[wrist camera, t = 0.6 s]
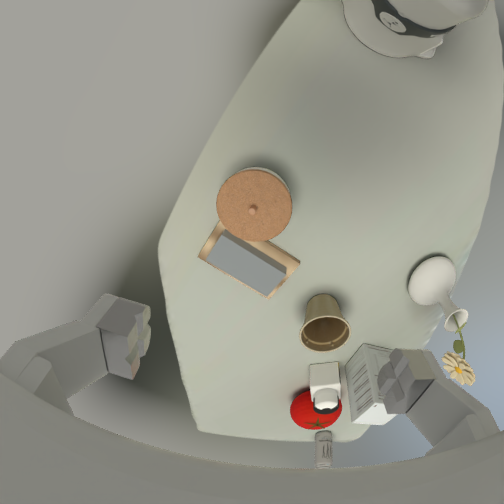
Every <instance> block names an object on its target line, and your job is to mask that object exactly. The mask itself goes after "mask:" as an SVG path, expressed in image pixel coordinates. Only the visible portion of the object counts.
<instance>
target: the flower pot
mask: <svg viewBox="0 0 504 504" xmlns="http://www.w3.org/2000/svg"><path fill="white" fill-rule="evenodd" d="M350 336H351V328H350V325H349V323H348V322H347V321H346V320H345V319H344V318H343V316H342V314H341V311H340V309H339V306H338V304H337V301H336V300H335V299H334V298H333V297H331V296H330V295H327V294H320V295H316V296H314V297H313V298H312V299H311V300H310V301H309V302H308V304H307V310H306V316H305V322H304V324H303V326H302V328H301V330H300V334H299V338H300V341H301V343H302V345H303V346H304V347H305V348H307V349H309V350H311V351H314V352H319V353H323V352H324V353H325V352H331V351H334V350H337V349H339V348H340V347H342V346H343V345H345V344H346V343H347V342H348V340H349V338H350Z"/></svg>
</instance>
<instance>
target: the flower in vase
mask: <svg viewBox="0 0 504 504" xmlns="http://www.w3.org/2000/svg"><path fill="white" fill-rule="evenodd" d="M455 280H456V271H455V267H454V264H453V263H452V261H451V260H449V259H448V258H446V257H432V258H429V259H427V260H425V261H424V262H422V263H421V264H420V265H419V266H418V267H417V268H416V269H415V270H414V272H413V274H412V276H411V278H410V281H409V285H408V292H409V295H410V297H411V299H412V300H413V301H415V302H416V303H418V304H420V305H433V304H436V303H438V302H439V303H440V305H441V307H442V309H443V311H444V313H445V319H446V320H445V325H444V328H445V330H446V331H448V332H452V331H456V330H457V331H456V333H457V332H459V334H460V337H461V340H455V341H454V345H453V348H454V351H455V352H456V353H461V352H462V351H463V358H461V357H460V356H459V355H458V354H455V353H450V352H448V351H447V354H446V353H445V356H444V357H442V361H443V362H445V363H446V364H448V365H444V366H443V367H444V369H446V370H447V372H449V373H451V374H450V377H451V378H452V379H454V378H456V380H457V381H460V383H461V384H462V385H464V383H465V384H466V383H467V384H468V385H469V386H472V384H473V383H474V382H475V374H474V373H473V370H472V368H470V365H469V364H468V363H466V361H465V346H464V341H463V338H462V334H461V331H460V330H461V329H462V328H463V327H464V326H465V324H466V321H467V318H468V312H467V311H466V310H465V309H460V308H458V307H457V306H456V305H455V304H454V303H453V302H452V301H451V299H450V297H449V295H448V294H449V293H450V292H451V290H452V288H453V286H454V283H455Z"/></svg>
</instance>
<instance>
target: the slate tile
mask: <svg viewBox="0 0 504 504" xmlns="http://www.w3.org/2000/svg"><path fill="white" fill-rule="evenodd" d="M206 261H208V262H209V263H211V264H213V265H214V266H216V267H218V268H219V269H221V270H222V271H224V272H226V273H227V274H229V275H231V276H232V277H234V278H236V279H237V280H239V281H241V282H242V283H244V284H246V285H248V286H249V287H251V288H253V289H254V290H256V291H258V292H259V293H261V294H263V295H264V296H266V297H267V296H268V295H269V294H270V293H271V292H272V291H273V290H274V288H275V287H276V286H277V285H278V284H279V283H280V282H281V280H282V279H283V278H284V277H285V276H286V272H287V267H285V266H284V265H282V264H281V263H279V262H277V261H276V260H274V259H273V258H271V257H269V256H268V255H266V254H265V253H263V252H261V251H260V250H258V249H257V248H255V247H253V246H252V245H250V244H249V243H247V242H245V241H244V240H242V239H240V238H238V237H236V236H234V235H233V234H231V233H230V232H229V231H228V230H226V229H224V231H223V232H222V234H221V236H220V237H219V239H218V240H217V242H216V243H215V245H214V246H213V248H212V250H211V251H210V253H209V255H208V256H207V258H206Z"/></svg>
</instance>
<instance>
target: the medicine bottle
mask: <svg viewBox="0 0 504 504" xmlns="http://www.w3.org/2000/svg"><path fill="white" fill-rule="evenodd" d="M310 391H311V399H312V402H313V410H314V411H315V412H316V413H318V414H323V415H325V414H331V413H334V412H336V411H337V410H338V409H339V399H340V396H341V382H340V372H339V363H338V362H331V363H322V364H313V365H310Z"/></svg>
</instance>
